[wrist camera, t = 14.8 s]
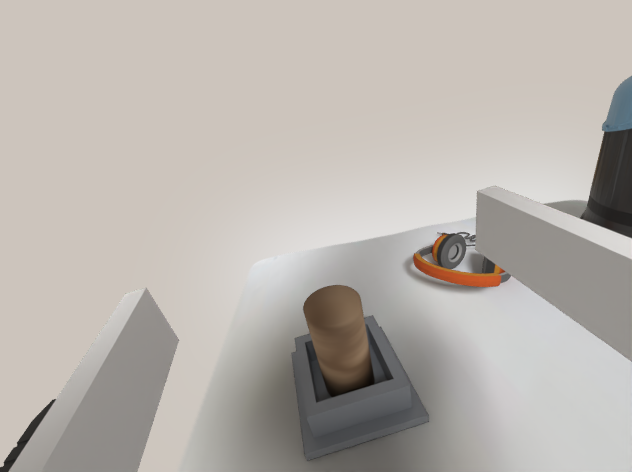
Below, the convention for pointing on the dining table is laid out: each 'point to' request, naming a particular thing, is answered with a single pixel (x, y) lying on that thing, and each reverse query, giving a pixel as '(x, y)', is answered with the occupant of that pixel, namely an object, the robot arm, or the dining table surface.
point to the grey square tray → (354, 399)
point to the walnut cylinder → (339, 339)
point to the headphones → (457, 263)
